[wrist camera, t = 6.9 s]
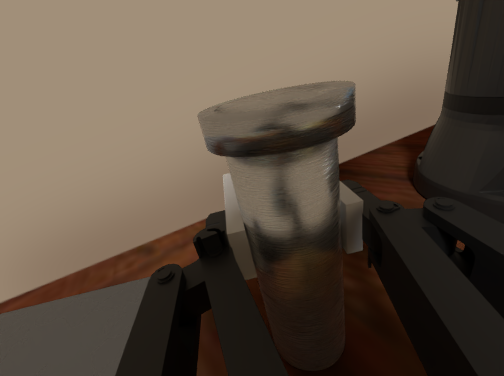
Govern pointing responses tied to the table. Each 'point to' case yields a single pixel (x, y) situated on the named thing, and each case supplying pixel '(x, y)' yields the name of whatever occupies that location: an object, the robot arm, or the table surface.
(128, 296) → the jig
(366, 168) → the table surface
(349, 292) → the table surface
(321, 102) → the silver metal peg
